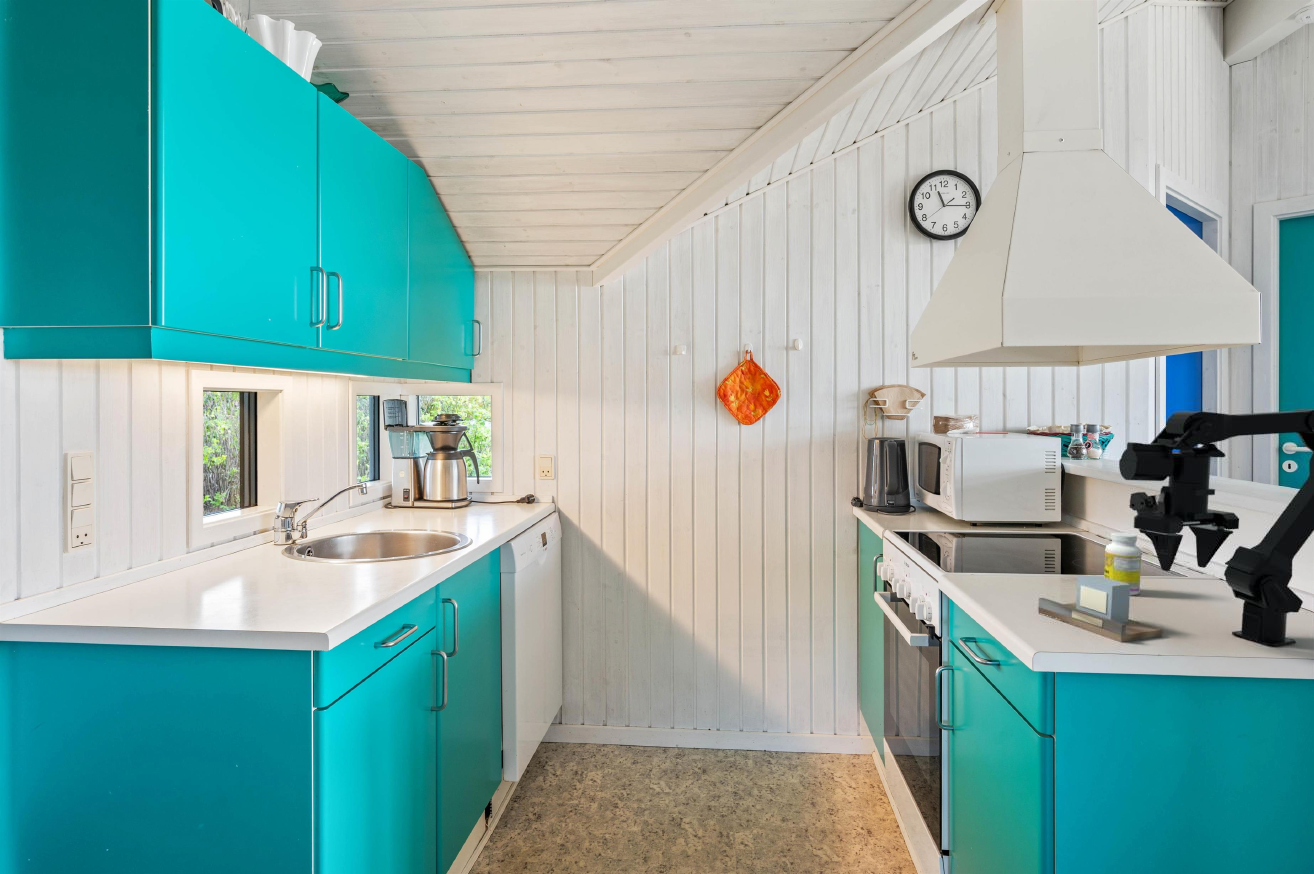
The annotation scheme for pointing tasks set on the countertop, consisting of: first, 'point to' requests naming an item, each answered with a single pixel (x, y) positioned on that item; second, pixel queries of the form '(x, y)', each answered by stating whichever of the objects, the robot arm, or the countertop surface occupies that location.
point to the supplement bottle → (1123, 560)
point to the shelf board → (1097, 622)
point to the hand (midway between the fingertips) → (1183, 568)
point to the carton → (1103, 597)
